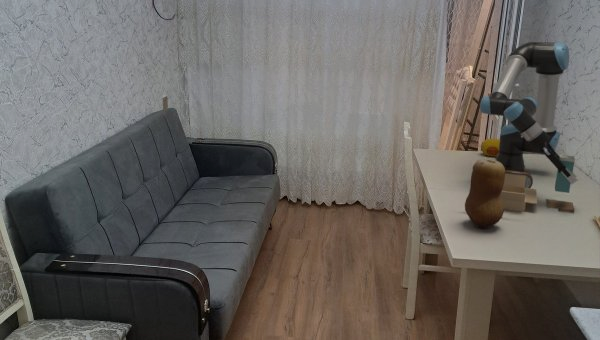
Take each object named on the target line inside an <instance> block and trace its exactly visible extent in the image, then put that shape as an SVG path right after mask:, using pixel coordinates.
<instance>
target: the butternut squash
mask: <svg viewBox="0 0 600 340" xmlns="http://www.w3.org/2000/svg"><path fill="white" fill-rule="evenodd" d="M504 180H505V168H504V166H503V164H502V163H500V162H498V161H496V159H495V160H494V159H487V158H480V159H478V160H477V161H475V163H474V164H473V166H472V171H471V177H470V188H469V191H468V195H467V197H466V198H465V202H464V212H465V213H466V214H467V216H468V218H469V220H470V221H471V222H472V223H473V224H474V226H475V227H477V228H479V229H483V228H484V229H486V228H490V227H493V226H495V225H496V224H498V223H499V222H500V220H501V219H502V217H503V216H504V209H503V203H502V200H501V196H500V195H501V191H502V189H503V185H504Z"/></svg>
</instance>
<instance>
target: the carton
mask: <svg viewBox="0 0 600 340" xmlns="http://www.w3.org/2000/svg"><path fill="white" fill-rule="evenodd" d="M525 180H526V176H518V175H509V174H505V180H504V185H503V189H502V191H501V195H500V196H501V200H502V203H503V210H509V211H510V210H511V211H515V212H516V211H517V212H521V213H522V212H525V211H526V205H527V204H533V205H538V196H537V194H538V193H537V189H536V188H532V187H531V188H525Z"/></svg>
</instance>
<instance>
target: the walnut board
mask: <svg viewBox="0 0 600 340" xmlns="http://www.w3.org/2000/svg"><path fill="white" fill-rule="evenodd" d="M545 201H546V208H552V209H557V210H558V211H559V212H563V213H572V214H575V207H574V203H573V202H572V201H565V200H556V199H549V198H546V199H545Z"/></svg>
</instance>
